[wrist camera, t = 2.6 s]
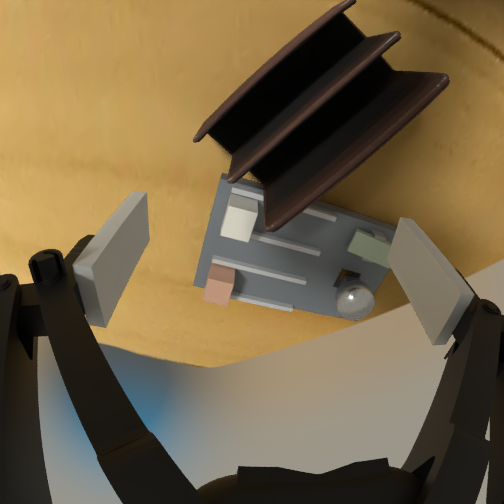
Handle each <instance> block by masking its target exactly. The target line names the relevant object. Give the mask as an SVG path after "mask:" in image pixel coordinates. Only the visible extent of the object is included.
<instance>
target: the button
mask: <svg viewBox="0 0 504 504" xmlns="http://www.w3.org/2000/svg"><path fill="white" fill-rule="evenodd" d="M335 301H336V305H337V308H338V312H339V314H340V316H341V317H342V318H344V319H346V320H359V319H362V318H364V317H365V316H367V315H368V314H369V313H370V312H371V311H372V310H373V308H374V306H375V299H374V297H373V294H372V292H371V290H370V288H369V286H368V284H367V283H365V282H364V281H361V280H360V279H359V278H356V277H352V276H348V275H344V277H343V278H342V280H341V282H340V284H339V286H338V290H337V291H336V294H335Z"/></svg>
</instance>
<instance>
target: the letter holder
mask: <svg viewBox="0 0 504 504" xmlns="http://www.w3.org/2000/svg"><path fill="white" fill-rule="evenodd" d="M355 3H356V0H345V1H343V2H341V3H340V4H338V5H336V6H334V7H333V8H331V9H330V10H329V11H328V12H326V13H325V14H324V15H322V16H321V17H320V18H318V19H317V20H316V21H314V22H313V23H312V24H311V25H309V26H308V27H307V28H306V29H305V30H303V31H302V32H301V33H300V34H298V35H297V36H296V37H295V38H294V39H292V40H291V41H290V42H289V43H288V44H286V45H285V46H284V47H283V48H282V49H281V50H280V51H278V52H277V53H276V54H275V55H274V56H273V57H272V58H270V59H269V60H268V61H267V62H266V63H265V64H263V65H262V66H261V67H260V68H259V69H258V70H257V71H256V72H255V73H254V74H253V75H252V76H251V77H249V78H248V79H247V80H246V81H245V82H244V83H243V84H242V85H241V86H240V87H239V88H238V89H237V90H236V91H235V92H234V93H233V94H232V95H231V96H230V97H229V98H228V99H227V100H226V101H225V102H224V103H223V104H222V105H221V106H220V107H219V108H218V109H217V110H216V111H215V112H214V113H213V114H212V115H210V117H209V118H208V119H207V120H206V121H205V122H204V123H203V125H202V126H201V128H200V129H199V131H198V132H197V134H196V135H195V137H194V139H193V142H194V143H196V142H199V141H201V140H202V139H203V138H204V136H205V135H206V134H209V135H210V136H211V137H212V138H213V139H215V140H216V141H217V142H218V143H219V144H220V145H221V146H222V147H223V148H225V149H226V150H227V151H228V152H229V153H230V154H231V155H232V161H231V165H230V169H229V173H228V177H227V182H228V184H234V183H236V182H237V181H238V180H239V179H240V178H242V177H243V176H244V175H245V174H246V173H247V172H248V171H250V172H251V173H252V174H253V175H254V176H255V177H256V178H257V179H258V180H259V181H260V182H261V183H262V184H263V204H264V211H263V213H264V214H263V217H264V218H263V222H264V224H263V225H264V229H265V231H266V232H272V233H274V232H276V231H278V230H279V229H281V228H282V227H283V226H285V225H286V224H287V223H289V222H290V221H291V220H292V219H294V218H295V217H296V216H298V215H299V214H300V213H302V212H303V211H304V210H306V209H307V208H308V207H309V206H311V205H312V204H313V203H315V202H316V201H317V200H318V199H320V198H321V197H322V196H323V195H325V194H326V193H327V192H329V191H330V190H331V189H332V188H333V187H335V186H336V185H337V184H338V183H340V182H341V181H342V180H343V179H345V178H346V177H347V176H348V175H350V174H351V173H352V172H353V171H354V170H356V169H357V168H358V167H359V166H360V165H361V164H363V163H364V162H365V161H366V160H367V159H368V158H370V157H371V156H372V155H373V154H374V153H375V152H377V151H378V150H379V149H380V148H381V147H382V146H384V145H385V144H386V143H387V142H388V141H389V140H390V139H391V138H393V137H394V136H395V135H396V134H397V133H398V132H399V131H400V130H401V129H403V128H404V127H405V126H406V125H407V124H408V123H409V122H410V121H411V120H412V119H413V118H415V117H416V116H417V115H418V114H419V113H420V112H422V111H423V110H424V109H425V108H426V107H427V106H428V105H429V104H430V103H431V102H432V101H433V100H434V99H435V98H436V97H437V96H438V95H439V94H440V93H441V92H442V91H443V90H444V89H445V88H446V87H447V86H448V85H449V83H450V80H449V77H448V75H447V74H443V73H431V72H413V71H395V70H393V69H392V67H391V66H390V65H389V64H388V63H387V61H386V60H385V59H384V58H383V57H382V54H383V53H384V52H385V51H387V50H388V49H389V48H390V47H391V46H393V45H394V44H395V43H396V42H398V41H399V40H400V39H401V37H400V35H401V34H400V32H399V31H394V32H389V33H385V34H381V35H377V36H372V37H366V36H365V35H364V34H363V33H362V32H361V31H360V30H359V29H358V28H357V27H356V26H355V25H354V24H353V22H352V21H351V20H350V19H349V18H348V17H347V16H346V15H345V14H344V13H343V12H344V11H345V10H347V9H348V8H350V7H351V6H352V5H354V4H355Z"/></svg>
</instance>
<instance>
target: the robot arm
mask: <svg viewBox="0 0 504 504" xmlns="http://www.w3.org/2000/svg"><path fill="white" fill-rule="evenodd" d="M148 242H149V224H148V204H147V192H144V191H132V192H131V194H130V195H129V196H128V197H127V198H126V199H125V200H124V201H123V203H122V204H121V205H120V206H119V207H118V208H117V210H116V211H115V212H114V213H113V214H112V215H111V217H110V218H109V219H108V220H107V221H106V223H105V224H104V225H103V226H102V227H101V229H100V230H99V231H98V232H97V234H96V235H87V236H85V237H84V238H82V239H81V240H79V241H78V243H77V244H76V245H75V246H74V248H73V249H72V250H71V251H70V253H69V254H68V255H67V256H66V257H65V258H64V260H63V255H62V253H61V252H60V251H59V250H56V249H47V250H43V251H40V252H38V253H36V254H35V255H33V256H32V257H31V259H30V260H29V264H28V265H29V268H30V272H31V275H32V278H33V281H34V283H31V284H21V285H20V284H19V281H18V278H17V277H16V276H15V275H13V274H4V275H0V504H52V499H51V495H50V490H49V486H48V480H47V474H46V468H45V462H44V455H43V448H42V440H41V430H40V420H39V407H38V381H37V350H38V336H48V337H49V340H50V344H51V346H52V350H53V353H54V356H55V359H56V362H57V364H58V367H59V370H60V373H61V375H62V378H63V381H64V383H65V386H66V389H67V391H68V393H69V396H70V398H71V401H72V403H73V405H74V408H75V410H76V412H77V415H78V417H79V419H80V421H81V423H82V426H83V428H84V430H85V432H86V434H87V436H88V438H89V440H90V442H91V444H92V446H93V448H94V450H95V452H96V454H97V459H98V461H99V464H100V466H101V468H102V470H103V472H104V473H105V475H106V477H107V479H108V480H109V482H110V484H111V485H112V487H113V489H114V490H115V492H116V494H117V495H118V497H119V498H120V500H121V502H122V503H123V504H475V503H476V500H477V497H478V494H479V492H480V489H481V485H482V482H483V479H484V476H485V472H486V469H487V465H488V462H489V471H488V484H487V498H486V504H504V315H501V311H500V309H499V308H498V307H497V306H496V305H495V304H494V303H493V302H491V301H489V300H486V299H480V298H479V297H478V295H477V294H476V293H475V291H474V290H473V289H472V287H471V286H470V285H469V284H468V282H467V281H466V280H465V279H464V277H463V276H462V275H461V273H460V272H459V271H458V270H457V269H456V268H454V267H453V266H452V265H451V264H450V262H449V261H448V260H447V259H446V257H445V256H444V255H443V254H442V253H441V251H440V250H439V249H438V248H437V247H436V245H435V244H434V243H433V242H432V241H431V240H430V238H429V237H428V236H427V235H426V234H425V233H424V231H423V230H422V229H421V228H420V227H419V226H418V225H417V224H416V222H415V221H414V220H413V219H412V218H405V217H400V219H399V222H398V226H397V229H396V232H395V235H394V238H393V241H392V244H391V247H390V250H389V253H388V256H387V259H386V261H387V263H388V264H389V266H390V268H391V269H392V271H393V273H394V274H395V276H396V278H397V280H398V281H399V283H400V285H401V287H402V288H403V290H404V292H405V294H406V296H407V297H408V299H409V301H410V303H411V304H412V306H413V308H414V310H415V312H416V314H417V316H418V318H419V320H420V321H421V323H422V325H423V327H424V329H425V331H426V333H427V335H428V337H429V339H430V340H431V343H432V345H444V344H446V343H447V342H448V340H449V338H450V337H451V335H452V334H453V335H454V338H455V339H456V340H455V342H454V343H453V345H452V347H451V348H450V350H449V351H448V353H447V354H446V356H445V357H444V359H446V358H447V357H448V360H447V363H446V366H445V369H444V372H443V375H442V378H441V381H440V383H439V386H438V389H437V392H436V395H435V397H434V400H433V402H432V405H431V407H430V410H429V412H428V415H427V417H426V419H425V422H424V424H423V426H422V428H421V431H420V433H419V435H418V438H417V440H416V442H415V444H414V446H413V448H412V450H411V452H410V454H409V456H408V458H407V460H406V462H405V463H404V465H403V466H402V468H401V469H399V468H395V467H391V466H389V464H388V459H387V458H382V459H375V460H368V461H361V462H354V463H352V464H349V465H346V466H343V467H341V468H338V469H335V470H332V471H329V472H326V473H323V474H312V473H305V472H300V471H295V470H290V469H285V468H280V467H244V466H238V471H237V474H235V475H229V476H225V477H222V478H218V479H216V480H213V481H211V482H209V483H207V484H205V485H203V486H201V487H200V488H199V489H197V490H196V489H195V488H194V487H193V485H192V484H191V483H190V482H189V480H188V479H187V478H186V477H185V475H184V474H183V473H182V472H181V470H180V469H179V468H178V466H177V465H176V464H175V462H174V461H173V460H172V458H171V457H170V456H169V455H168V453H167V452H166V450H165V449H164V447H163V446H162V445H161V443H160V442H159V441H158V439H157V438H156V437H155V436H154V434H153V433H151V432H149V430H148V429H147V428H146V426H145V425H144V423H143V422H142V420H141V418H140V417H139V415H138V414H137V412H136V411H135V409H134V407H133V406H132V404H131V402H130V401H129V399H128V398H127V396H126V394H125V392H124V391H123V389H122V387H121V385H120V384H119V382H118V380H117V379H116V377H115V375H114V373H113V371H112V370H111V368H110V366H109V364H108V362H107V360H106V358H105V356H104V355H103V352H102V351H101V349H100V347H99V345H98V343H97V341H96V339H95V336H94V334H93V332H92V330H91V328H90V326H89V325H92V326H98V327H104V328H106V327H107V325H108V322H109V320H110V318H111V316H112V314H113V312H114V309H115V307H116V305H117V303H118V301H119V299H120V297H121V295H122V293H123V291H124V289H125V287H126V285H127V283H128V281H129V279H130V277H131V275H132V273H133V271H134V269H135V267H136V265H137V263H138V261H139V259H140V257H141V255H142V253H143V251H144V249H145V248H146V246H147V244H148ZM85 315H86V317H85ZM86 318H87V320H86ZM489 417H490V441H488V440H486V439H485V434H486V431H487V426H488V422H489Z"/></svg>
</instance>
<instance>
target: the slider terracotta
mask: <svg viewBox="0 0 504 504" xmlns="http://www.w3.org/2000/svg"><path fill="white" fill-rule="evenodd" d="M234 278H235V268H232V267H228V266H224V265H220V264H216V263H212V262H211V266H210V270H209V273H208V277H207V281H206V285H205V290H204V295H203V301H206V302H211V303H215V304H219V305H224V306H227V304H228V301H229V298H230V295H231V292H232V289H233V286H234Z"/></svg>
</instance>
